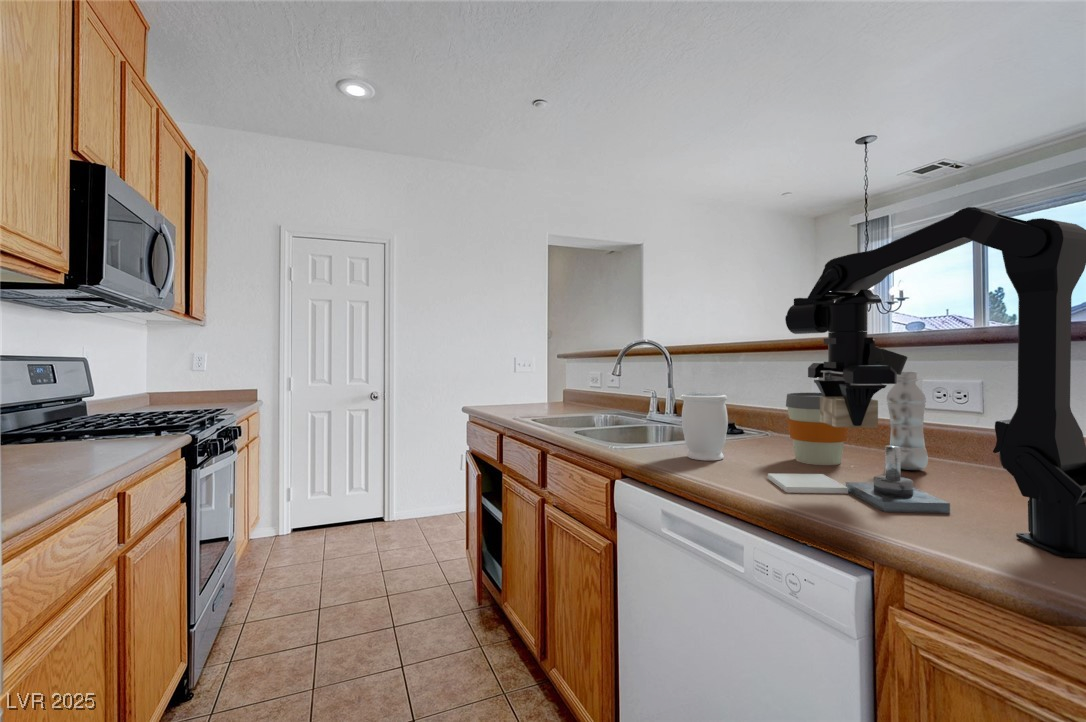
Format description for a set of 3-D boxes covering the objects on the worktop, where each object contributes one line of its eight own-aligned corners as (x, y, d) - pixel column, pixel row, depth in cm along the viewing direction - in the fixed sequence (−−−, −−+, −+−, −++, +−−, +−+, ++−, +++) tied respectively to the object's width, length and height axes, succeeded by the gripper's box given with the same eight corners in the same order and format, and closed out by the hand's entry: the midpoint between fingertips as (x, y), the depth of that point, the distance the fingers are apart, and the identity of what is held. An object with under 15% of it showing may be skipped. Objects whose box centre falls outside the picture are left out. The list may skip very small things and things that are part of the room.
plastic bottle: (912, 474, 95) (910, 372, 95) (879, 467, 101) (877, 372, 101) (936, 471, 97) (934, 371, 96) (903, 464, 103) (901, 371, 103)
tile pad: (848, 493, 83) (848, 487, 83) (786, 492, 84) (786, 486, 84) (822, 479, 93) (822, 473, 93) (767, 478, 94) (767, 473, 94)
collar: (877, 427, 80) (878, 400, 80) (836, 427, 81) (836, 400, 80) (858, 421, 86) (858, 396, 86) (819, 421, 87) (819, 396, 87)
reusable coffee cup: (774, 458, 113) (773, 394, 113) (815, 453, 117) (814, 391, 117) (820, 469, 101) (819, 397, 101) (865, 464, 105) (863, 395, 105)
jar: (673, 455, 119) (672, 394, 118) (709, 452, 122) (708, 392, 122) (700, 463, 108) (698, 397, 108) (738, 460, 111) (737, 395, 111)
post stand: (950, 513, 72) (948, 454, 72) (884, 511, 73) (883, 453, 73) (901, 491, 84) (900, 440, 84) (845, 490, 85) (844, 440, 85)
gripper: (935, 328, 73) (934, 432, 73) (869, 333, 91) (869, 415, 91) (854, 330, 74) (854, 431, 74) (806, 334, 93) (806, 415, 93)
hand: (847, 422), depth 83 cm, fingers closed on collar, 6 cm apart
